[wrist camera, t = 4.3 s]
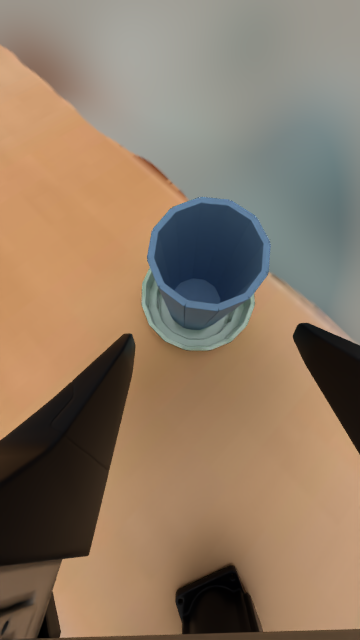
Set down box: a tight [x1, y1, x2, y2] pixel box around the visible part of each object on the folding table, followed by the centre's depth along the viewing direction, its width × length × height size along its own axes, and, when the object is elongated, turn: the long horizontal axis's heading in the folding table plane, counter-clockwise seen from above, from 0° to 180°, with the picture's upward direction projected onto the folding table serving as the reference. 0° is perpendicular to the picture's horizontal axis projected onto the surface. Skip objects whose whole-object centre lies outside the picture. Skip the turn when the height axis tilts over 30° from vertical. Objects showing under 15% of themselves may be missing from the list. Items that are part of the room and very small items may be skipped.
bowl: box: [142, 268, 255, 351], centre depth 19 cm, size 11×11×4 cm
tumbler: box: [147, 197, 270, 330], centre depth 15 cm, size 7×7×12 cm
